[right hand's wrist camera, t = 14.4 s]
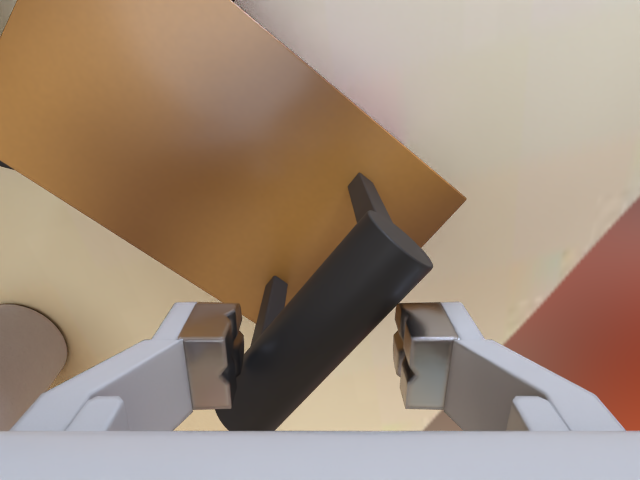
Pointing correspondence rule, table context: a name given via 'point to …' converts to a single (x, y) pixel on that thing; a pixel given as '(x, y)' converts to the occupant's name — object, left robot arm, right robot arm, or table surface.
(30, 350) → the coffee cup
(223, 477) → the right robot arm
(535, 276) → the table surface
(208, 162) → the lid
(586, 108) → the table surface
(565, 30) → the table surface
